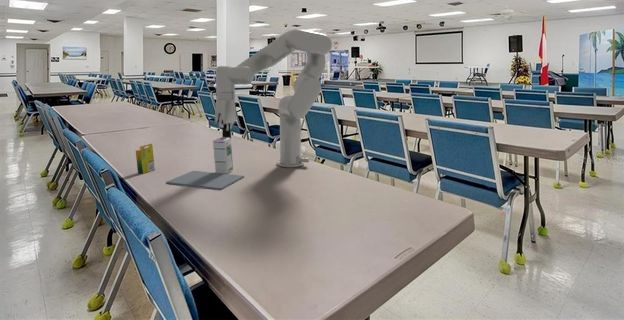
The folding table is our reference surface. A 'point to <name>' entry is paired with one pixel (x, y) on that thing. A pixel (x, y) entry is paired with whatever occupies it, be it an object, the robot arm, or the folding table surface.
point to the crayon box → (145, 159)
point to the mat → (205, 180)
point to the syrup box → (223, 155)
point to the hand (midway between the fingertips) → (226, 139)
